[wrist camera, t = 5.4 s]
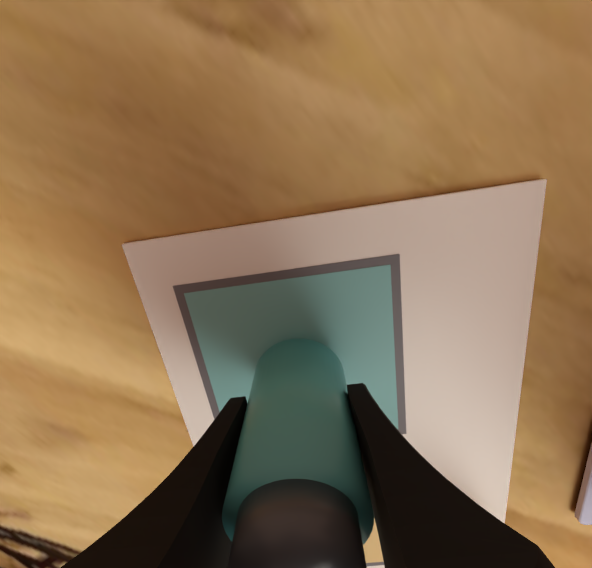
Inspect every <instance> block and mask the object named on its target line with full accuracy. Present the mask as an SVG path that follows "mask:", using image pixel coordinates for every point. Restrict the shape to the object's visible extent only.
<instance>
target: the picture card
mask: <svg viewBox="0 0 592 568" xmlns="http://www.w3.org/2000/svg"><path fill="white" fill-rule="evenodd" d="M546 183H547V179H538V180H531V181H525V182H518V183H512V184H505V185H499V186H492V187H486V188H479V189H473V190H466V191H460V192H453V193H447V194H440V195H434V196H427V197H421V198H414V199H408V200H401V201H395V202H388V203H382V204H375V205H369V206H362V207H356V208H349V209H343V210H336V211H330V212H323V213H317V214H310V215H304V216H297V217H291V218H284V219H278V220H271V221H265V222H258V223H252V224H245V225H239V226H232V227H226V228H219V229H213V230H206V231H200V232H193V233H187V234H180V235H174V236H167V237H161V238H154V239H148V240H141V241H135V242H128V243H124V244H122V247H123V250H124V253H125V256H126V258H127V261H128V264H129V267H130V270H131V272H132V275H133V278H134V281H135V284H136V286H137V289H138V292H139V295H140V298H141V300H142V303H143V306H144V309H145V312H146V314H147V317H148V320H149V323H150V326H151V328H152V331H153V334H154V337H155V340H156V342H157V345H158V348H159V351H160V354H161V356H162V359H163V362H164V365H165V368H166V370H167V373H168V376H169V379H170V382H171V384H172V387H173V390H174V393H175V396H176V398H177V401H178V404H179V407H180V410H181V412H182V415H183V418H184V421H185V424H186V426H187V429H188V432H189V435H190V438H191V440H192V443H193V446H195V444H196V443H197V442H198V441H199V439H200V438H201V437H202V435H203V434H204V433H205V432H206V430H207V429H208V428H209V426H210V425H211V424H212V422H213V421H214V420H215V418H216V417H217V415H218V414H219V413H220V411H221V410H222V409H223V407H224V406H225V404H226V403H227V402H228V401H229V399H230V398H234V397H243V396H246V400H247V404H248V399H249V395H250V391H251V387H252V382H253V378H254V374H255V370H256V366H257V363H258V361H259V359H260V358H261V356H262V355H263V354H264V353H265V352H266V351H267V350H268V349H269V348H270V347H272V346H273V345H275V344H277V343H279V342H282V341H285V340H290V339H308V340H313V341H316V342H319V343H321V344H323V345H325V346H327V347H328V348H329V349H331V350H332V351H333V352H334V353H335V354H336V355H337V357H338V358H339V360H340V362H341V364H342V367H343V370H344V375H345V380H346V385H349V384H358V383H363V384H365V385H366V387H367V389H368V390H369V392H370V394H371V395H372V397H373V398H374V400H375V401H376V403H377V404H378V406H379V407H380V408H381V410H382V411H383V412H384V414H385V415H386V416H387V417H388V419H389V420H390V421H391V422H392V424H393V425H394V426H395V427H396V428H397V430H398V431H399V432H400V433H401V434H402V435H403V436H404V438H405V439H406V440H407V441H408V442H409V443H410V444H411V445H412V446H413V447H414V448H415V449H416V450H417V451H418V452H419V453H420V454H421V455H422V456H423V457H424V458H425V459H426V460H427V461H428V462H429V463H430V464H431V465H432V466H433V467H434V468H435V469H436V470H437V471H439V472H440V473H441V474H442V475H443V476H444V477H445V478H446V479H448V480H449V481H450V482H451V483H452V484H454V485H455V486H456V487H457V488H459V489H460V490H461V491H462V492H463V493H465V494H466V495H467V496H468V497H470V498H471V499H472V500H473V501H475V502H476V503H477V504H478V505H480V506H481V507H483V508H484V509H485V510H487V511H488V512H489V513H491V514H492V515H493V516H495V517H496V518H497V519H499V520H500V521H502V522H503V523H504V524H505V516H506V507H507V499H508V491H509V483H510V475H511V467H512V459H513V451H514V442H515V434H516V426H517V418H518V410H519V402H520V394H521V386H522V377H523V369H524V361H525V353H526V345H527V337H528V329H529V321H530V312H531V304H532V296H533V288H534V280H535V272H536V264H537V256H538V248H539V239H540V231H541V223H542V215H543V207H544V199H545V191H546ZM363 548H364V554H365V560H366V566H367V568H385V566H384V561H383V556H382V551H381V545H380V540H379V535H378V531H377V527H376V522H375V518H374V525H373V529H372V532H371V534H370V537H369V538H368V540H367V541H366V543H365V544H364V545H363Z"/></svg>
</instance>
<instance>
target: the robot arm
mask: <svg viewBox="0 0 592 568" xmlns="http://www.w3.org/2000/svg"><path fill="white" fill-rule="evenodd" d="M347 392H348V397H349V402H350V407H351V412H352V416H353V420H354V424H355V428H356V432H357V437H358V441H359V446H360V451H361V456H362V460H363V465H364V470H365V475H366V479H367V484H368V489H369V494H370V498H371V503H372V508H373V513H374V518H375V522H376V527H377V531H378V535H379V540H380V545H381V551H382V556H383V561H384V566H385V568H555V567H554V566H553V564H552V563H551V562H550V561H549V559H548V558H547V557H546V555H545V554H544V553H543V552H542V550H541V549H540V548H539V547H538V546H537V545H536V544H534V543H533V542H531V541H530V540H528V539H527V538H525V537H524V536H522V535H521V534H519V533H518V532H516V531H515V530H513V529H512V528H510V527H509V526H507V525H506V524H504V523H503V522H502V521H500V520H499V519H497V518H496V517H495V516H493V515H492V514H491V513H489V512H488V511H487V510H485V509H484V508H483V507H481V506H480V505H478V504H477V503H476V502H475V501H473V500H472V499H471V498H470V497H468V496H467V495H466V494H465V493H463V492H462V491H461V490H460V489H459V488H457V487H456V486H455V485H454V484H452V483H451V482H450V481H449V480H448V479H446V478H445V477H444V476H443V475H442V474H441V473H440V472H439V471H437V470H436V469H435V468H434V467H433V466H432V465H431V464H430V463H429V462H428V461H427V460H426V459H425V458H424V457H423V456H422V455H421V454H420V453H419V452H418V451H417V450H416V449H415V448H414V447H413V446H412V445H411V444H410V443H409V442H408V441H407V440H406V439H405V438H404V436H403V435H402V434H401V433H400V432H399V431H398V430H397V428H396V427H395V426H394V425H393V424H392V422H391V421H390V420H389V419H388V417H387V416H386V415H385V414H384V412H383V411H382V410H381V408H380V407H379V406H378V404H377V403H376V401H375V400H374V398H373V397H372V395H371V394H370V392H369V390H368V389H367V387H366V385H365V384H363V383H358V384H349V385H347ZM246 408H247V400H246V396H243V397H234V398H230V399H229V401H228V402H227V403H226V404H225V406H224V407H223V409H222V410H221V411H220V413H219V414H218V415H217V417H216V418H215V420H214V421H213V422H212V424H211V425H210V426H209V428H208V429H207V430H206V432H205V433H204V434H203V435H202V437H201V438H200V439H199V441H198V442H197V443H196V444H195V446H194V447H193V448H192V449H191V450H190V452H189V453H188V454H187V455H186V456H185V458H184V459H183V460H182V461H181V462H180V463H179V465H178V466H177V467H176V468H175V469H174V470H173V471H172V472H171V473H170V475H169V476H168V477H167V478H166V479H165V480H164V481H163V482H162V483H161V484H160V485H159V486H158V487H157V488H156V489H155V490H154V491H153V492H152V493H151V494H150V495H149V496H148V497H146V498H145V499H144V500H143V501H142V502H141V503H140V504H139V505H138V506H137V507H136V508H134V509H133V510H132V511H131V512H130V513H129V514H128V515H127V516H126V517H125V518H123V519H122V520H121V521H120V522H119V523H117V524H116V525H115V526H114V527H113V528H112V529H110V530H109V531H108V532H107V533H105V534H104V535H103V536H102V537H100V538H99V539H98V540H97V541H95V542H94V543H93V544H92V545H90V546H89V547H88V548H87V549H85V550H84V551H83V552H81V553H80V554H79V555H77V556H76V557H74V558H73V559H72V560H70V561H69V562H68V563H66V564H65V565H63V566H62V567H61V568H227V567H228V561H229V556H230V551H231V545H232V541H231V540H230V539H229V537H228V535H227V534H226V532H225V529H224V527H223V522H222V510H223V505H224V501H225V497H226V493H227V488H228V484H229V480H230V476H231V471H232V467H233V463H234V459H235V454H236V450H237V446H238V442H239V438H240V433H241V429H242V425H243V421H244V416H245V412H246ZM575 517H576V518H577V520H578V521H579V522H580V523H581V524H584V525H592V443H591V447H590V451H589V456H588V460H587V464H586V468H585V472H584V477H583V481H582V485H581V489H580V493H579V498H578V502H577V506H576V510H575Z"/></svg>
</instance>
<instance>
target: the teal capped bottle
mask: <svg viewBox="0 0 592 568" xmlns="http://www.w3.org/2000/svg"><path fill="white" fill-rule="evenodd" d="M222 522H223V527H224V529H225V532H226V534H227V535H228V537H229V539H230V540H231V541H232V545H231V551H230V556H229V561H228V567H227V568H367V566H366V560H365V554H364V548H363V545H364V544H365V543H366V541H367V540H368V538H369V537H370V534H371V532H372V529H373V525H374V513H373V508H372V503H371V498H370V494H369V489H368V484H367V479H366V475H365V470H364V465H363V460H362V456H361V451H360V446H359V441H358V437H357V432H356V428H355V424H354V420H353V416H352V412H351V407H350V402H349V397H348V392H347V385H346V380H345V375H344V370H343V367H342V364H341V362H340V360H339V358H338V357H337V355H336V354H335V353H334V352H333V351H332V350H331V349H329V348H328V347H327V346H325V345H323V344H321V343H319V342H316V341H313V340H308V339H290V340H285V341H282V342H279V343H277V344H275V345H273V346H272V347H270V348H269V349H268V350H267V351H266V352H265V353H264V354H263V355H262V356H261V358H260V359H259V361H258V363H257V366H256V370H255V374H254V378H253V382H252V387H251V391H250V395H249V399H248V404H247V408H246V412H245V416H244V421H243V425H242V429H241V433H240V438H239V442H238V446H237V450H236V454H235V459H234V463H233V467H232V471H231V476H230V480H229V484H228V488H227V493H226V497H225V501H224V505H223V510H222Z"/></svg>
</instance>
